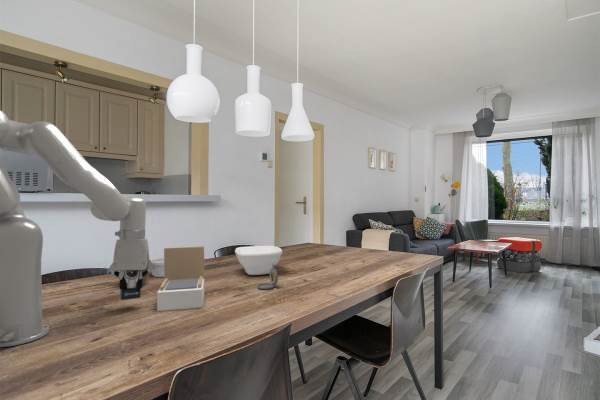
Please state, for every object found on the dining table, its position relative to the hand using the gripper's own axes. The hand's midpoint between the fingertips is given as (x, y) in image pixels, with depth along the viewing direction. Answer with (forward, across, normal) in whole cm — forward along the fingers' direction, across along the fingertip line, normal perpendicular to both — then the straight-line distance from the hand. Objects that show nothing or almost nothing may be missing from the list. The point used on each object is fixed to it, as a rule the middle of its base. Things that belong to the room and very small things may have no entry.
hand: (131, 290), depth 109 cm
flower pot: (+6, -5, +31) cm, 32 cm away
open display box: (+6, +16, +4) cm, 17 cm away
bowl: (+4, +47, +39) cm, 61 cm away
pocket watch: (+5, +48, +14) cm, 50 cm away
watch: (+2, 0, 0) cm, 2 cm away
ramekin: (+5, +4, +48) cm, 48 cm away
